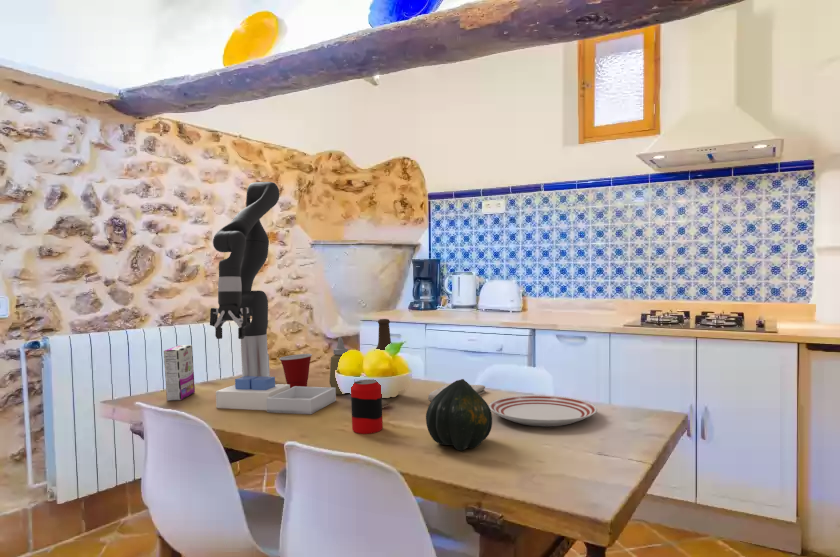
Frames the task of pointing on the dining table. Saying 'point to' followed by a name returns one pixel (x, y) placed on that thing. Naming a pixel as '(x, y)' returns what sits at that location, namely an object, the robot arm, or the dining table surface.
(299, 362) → the plastic cup
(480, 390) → the washcloth
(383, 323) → the beer bottle
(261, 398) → the white flat block
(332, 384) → the squeeze bottle
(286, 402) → the box
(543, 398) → the dinner plate
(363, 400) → the soda can
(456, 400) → the squash
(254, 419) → the dining table surface
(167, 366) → the candy bar box
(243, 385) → the tile
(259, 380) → the tile
